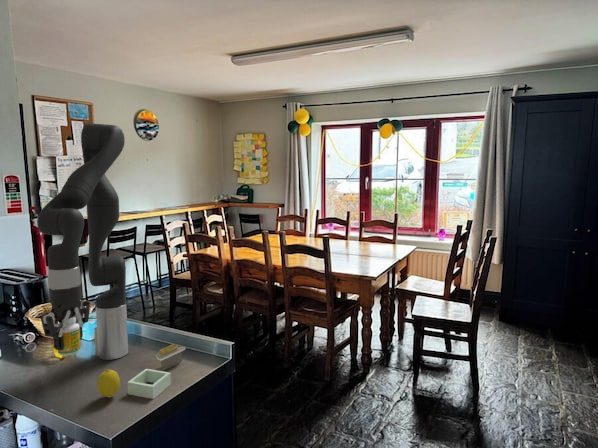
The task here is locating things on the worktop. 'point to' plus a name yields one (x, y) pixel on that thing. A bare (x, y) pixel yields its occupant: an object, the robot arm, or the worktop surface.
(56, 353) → the watch
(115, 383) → the lemon
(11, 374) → the worktop surface
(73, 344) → the supplement bottle
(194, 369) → the worktop surface
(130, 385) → the pale green open box
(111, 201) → the robot arm
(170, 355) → the butter dish
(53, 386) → the worktop surface
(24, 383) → the worktop surface
